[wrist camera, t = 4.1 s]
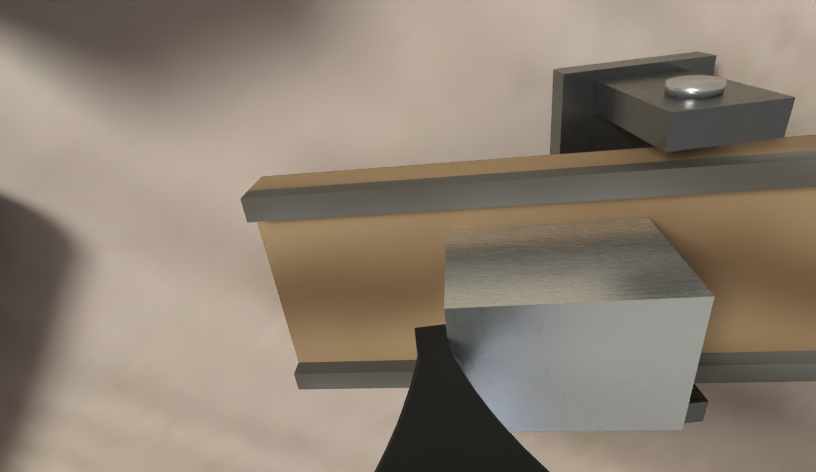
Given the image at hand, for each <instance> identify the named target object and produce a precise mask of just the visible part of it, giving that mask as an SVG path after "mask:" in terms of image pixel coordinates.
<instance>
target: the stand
mask: <svg viewBox="0 0 816 472" xmlns="http://www.w3.org/2000/svg"><path fill="white" fill-rule="evenodd" d="M715 60H716V55H712V54H707V53H702V52H692V53H684V54H675V55H667V56H659V57H651V58H643V59H634V60H626V61H618V62H610V63H602V64H593V65H585V66H577V67H569V68H561V69H554V73H553V98H552V123H551V147H550V155H556V154H569V153H583V152H596V151H609V150H622V149H636V148H649V147H656V148H658V149H660V150H662V151H663V152H671V151H679V150H687V149H695V148H704V147H712V146H720V145H729V144H737V143H745V142H753V141H762V140H770V139H778V138H784V135H785V132H786V128H787V125H788V121H789V118H790V114H791V111H792V107H793V104H794V100H795V97H792V96H788V95H784V94H780V93H776V92H773V91H769V90H765V89H761V88H757V87H753V86H749V85H745V84H742V83H738V82H734V81H730V80H726V79H725V78H722V77H717V76H712V75H713V70H714V65H715ZM707 404H708V400H707V399H706V398H705V397H704V395H703V394H702V393H701V392H700V390H699V389H698V388H697V387H696V385H695V384H693V388H692V392H691V396H690V401H689V405H688V409H687V413H686V417H685V421H684V423H690V422H699V421H703V418H704V415H705V411H706V408H707Z"/></svg>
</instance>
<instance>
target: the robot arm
mask: <svg viewBox="0 0 816 472" xmlns="http://www.w3.org/2000/svg"><path fill="white" fill-rule="evenodd" d="M415 339H416V348H417V360H416V365H415V369H414V373H413V377H412V380H411V384H410V388H409V391H408V394H407V397H406V400H405V403H404V406H403V409H402V412H401V414H400V417H399V420H398V422H397V425H396V427H395V430H394V432H393V434H392V436H391V439H390V441H389V443H388V446H387V448H386V450H385V452H384V454H383V456H382V458H381V460H380V462H379V464H378V466H377V468H376V470H375V472H549V471H548V470H547V469H546V468H545V467H544V466H543V465H542V464H541V463H540V462H539V461H538V460H537V459H535V458H534V457H533V456H532V455H531V454H530V453H529V452H528V451H527V450H526V449H525V448H524V447H523V446H522V445H521V444H520V443H519V442H518V441H517V440H516V439H515V437H514V436H513V435H512V434H511V433H510V432H509V431H508V430H507V429H506V428H505V426H504V425H503V424H502V423H501V422H500V421H499V420H498V418H497V417H496V416H495V415H494V414H493V412H492V411H491V410H490V409H489V407H488V406H487V405H486V404H485V402H484V401H483V400H482V398H481V397H480V396H479V394H478V393H477V392H476V390H475V389H474V387H473V386H472V384H471V383H470V381H469V380H468V378H467V377H466V375H465V374H464V372H463V371H462V369H461V368H460V366H459V364H458V363H457V361H456V359H455V358H454V356H453V354H452V352H451V350H450V342H449V338H447V331H446V325H445V324H441V325H433V326H425V327H417V328H415Z"/></svg>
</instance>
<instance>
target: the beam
mask: <svg viewBox="0 0 816 472" xmlns="http://www.w3.org/2000/svg"><path fill="white" fill-rule="evenodd" d="M241 202H242V206H243V209H244V212H245V215H246V219H247V222H257V223H258V226H259V230H260V233H261V236H262V240H263V243H264V246H265V250H266V253H267V257H268V260H269V263H270V267H271V270H272V273H273V277H274V280H275V284H276V287H277V290H278V294H279V297H280V301H281V304H282V307H283V311H284V314H285V317H286V321H287V324H288V328H289V331H290V334H291V338H292V341H293V345H294V348H295V351H296V355H297V358H298V361H299V363H298V366H297V368H296V371H295V373H294V375H295V378H296V382H297V385H298V388H299V389H350V388H410V384H411V380H412V377H413V373H414V369H415V365H416V360H417V348H416V339H415V328H417V327H425V326H433V325H441V324H445V325H446V321H445V311H444V296H445V245H446V230H452V229H467V228H482V227H497V226H512V225H527V224H542V223H557V222H572V221H587V220H602V219H617V218H632V217H648V218H649V219H650V220H651V221H652V223H653V224H654V225H655V226H656V227H657V229H658V230H659V231H660V232H661V233H662V235H663V236H664V237H665V238H666V239H667V241H668V242H669V243H670V244H671V245H672V246H673V248H674V249H675V250H676V251H677V252H678V254H679V255H680V256H681V257H682V258H683V260H684V261H685V262H686V263H687V264H688V265H689V267H690V268H691V269H692V270H693V271H694V273H695V274H696V275H697V276H698V277H699V279H700V280H701V281H702V282H703V283H704V284H705V286H706V287H707V288H708V289H709V290H710V292H711V293H712V294H713V295H714V296H715V297H714V301H713V305H712V309H711V313H710V318H709V322H708V326H707V330H706V334H705V338H704V343H703V347H702V351H701V355H700V359H699V363H698V367H697V372H696V376H695V380H694V383H725V382H788V381H816V135H808V136H795V137H784V138H778V139H770V140H762V141H753V142H745V143H737V144H729V145H720V146H712V147H704V148H695V149H687V150H679V151H671V152H663V151H662V150H660V149H658V148H656V147H649V148H636V149H622V150H609V151H596V152H583V153H569V154H556V155H543V156H529V157H516V158H503V159H490V160H476V161H463V162H450V163H437V164H423V165H410V166H397V167H383V168H370V169H357V170H344V171H330V172H317V173H304V174H290V175H277V176H264V177H261V178H260V179H259V180H258V181H257V182H256V183H255V184H254V185H253V186H252V187H251V188H250V189H249V190H248V191H247V192H246V194H245V195H244V196H243V197H242V198H241Z"/></svg>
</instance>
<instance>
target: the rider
mask: <svg viewBox="0 0 816 472" xmlns="http://www.w3.org/2000/svg"><path fill="white" fill-rule="evenodd" d="M714 297H715V296H714V295H713V294H712V293H711V292H710V290H709V289H708V288H707V287H706V286H705V284H704V283H703V282H702V281H701V280H700V279H699V277H698V276H697V275H696V274H695V273H694V271H693V270H692V269H691V268H690V267H689V265H688V264H687V263H686V262H685V261H684V260H683V258H682V257H681V256H680V255H679V254H678V252H677V251H676V250H675V249H674V248H673V246H672V245H671V244H670V243H669V242H668V241H667V239H666V238H665V237H664V236H663V235H662V233H661V232H660V231H659V230H658V229H657V227H656V226H655V225H654V224H653V223H652V221H651V220H650V219H649V218H648V217H632V218H617V219H602V220H587V221H572V222H557V223H542V224H527V225H512V226H497V227H482V228H467V229H452V230H446V245H445V296H444V311H445V321H446V331H447V338H449V342H450V350H451V352H452V354H453V356H454V358H455V359H456V361H457V363H458V364H459V366H460V368H461V369H462V371H463V372H464V374H465V375H466V377H467V378H468V380H469V381H470V383H471V384H472V386H473V387H474V389H475V390H476V392H477V393H478V394H479V396H480V397H481V398H482V400H483V401H484V402H485V404H486V405H487V406H488V407H489V409H490V410H491V411H492V412H493V414H494V415H495V416H496V417H497V418H498V420H499V421H500V422H501V423H502V424H503V425H504V426H505V428H506V429H507V430H508V431H509V432H575V431H670V430H683V426H684V421H685V417H686V413H687V409H688V405H689V401H690V396H691V392H692V388H693V384H694V380H695V376H696V372H697V367H698V363H699V359H700V355H701V351H702V347H703V343H704V338H705V334H706V330H707V326H708V322H709V318H710V313H711V309H712V305H713V301H714Z"/></svg>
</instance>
